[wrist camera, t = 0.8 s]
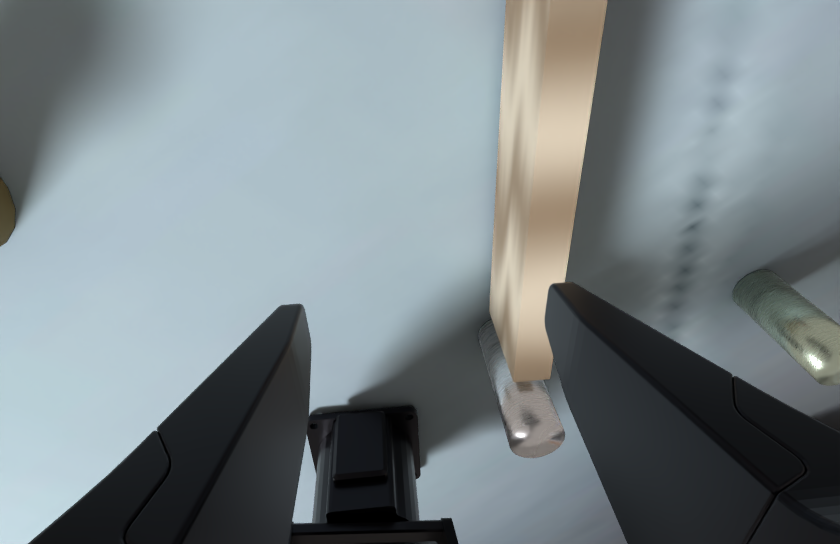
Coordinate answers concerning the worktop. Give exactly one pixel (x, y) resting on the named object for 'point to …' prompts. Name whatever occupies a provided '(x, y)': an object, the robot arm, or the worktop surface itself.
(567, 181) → the light brown wooden plank
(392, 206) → the worktop surface
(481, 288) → the worktop surface
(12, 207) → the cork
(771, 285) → the gate posts
